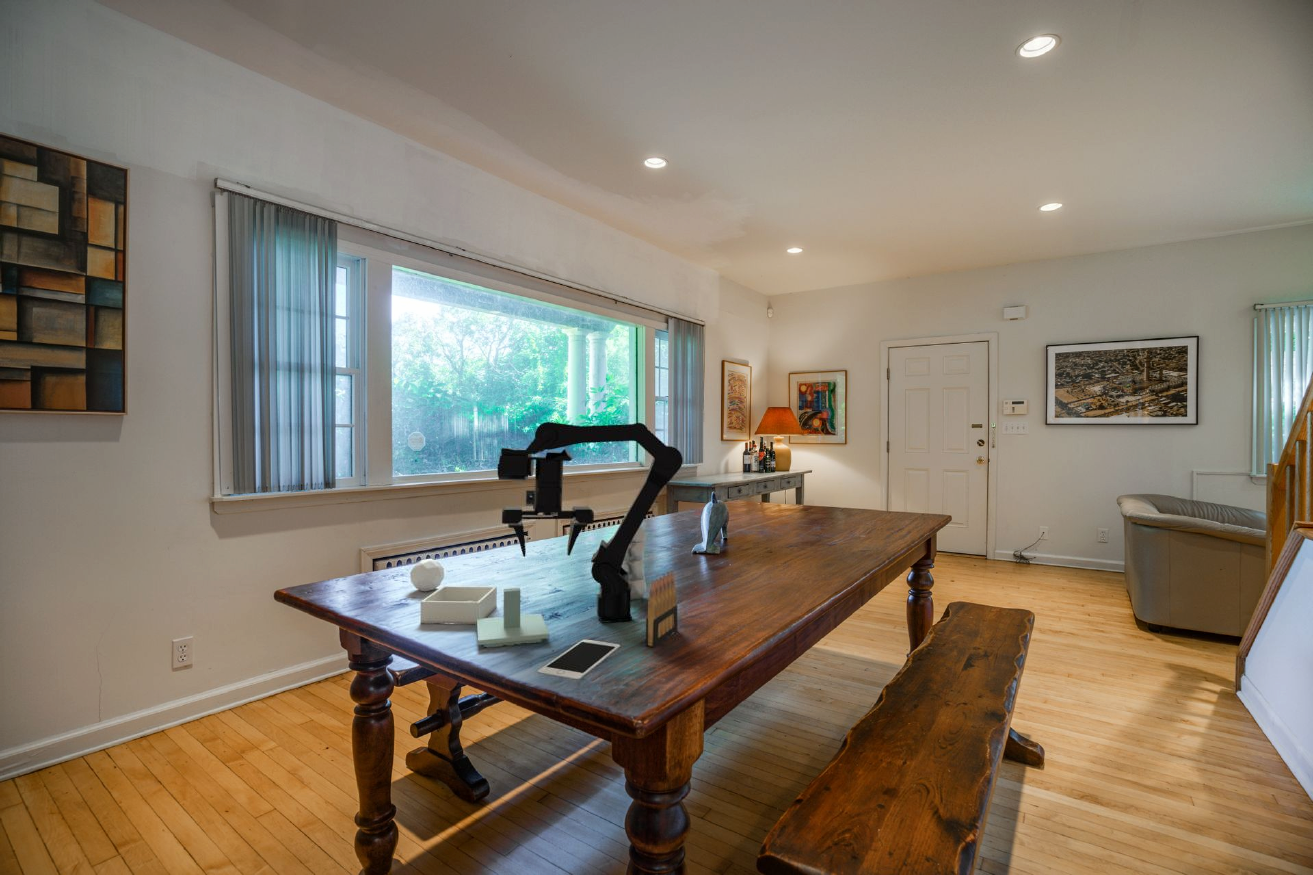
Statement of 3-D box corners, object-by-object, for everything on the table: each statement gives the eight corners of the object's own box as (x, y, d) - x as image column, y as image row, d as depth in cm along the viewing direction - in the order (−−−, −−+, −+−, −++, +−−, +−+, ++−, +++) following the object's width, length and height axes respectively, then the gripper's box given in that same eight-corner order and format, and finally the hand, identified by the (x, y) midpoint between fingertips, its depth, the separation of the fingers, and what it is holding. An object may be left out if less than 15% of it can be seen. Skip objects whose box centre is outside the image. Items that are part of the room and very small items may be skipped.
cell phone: (536, 675, 96) (536, 671, 96) (583, 642, 111) (583, 638, 111) (578, 682, 93) (578, 678, 93) (621, 647, 108) (621, 644, 108)
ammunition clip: (654, 648, 107) (654, 582, 107) (645, 646, 108) (645, 581, 108) (677, 630, 117) (678, 570, 116) (669, 629, 117) (669, 569, 117)
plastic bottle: (642, 603, 134) (643, 516, 134) (614, 601, 136) (614, 515, 136) (648, 595, 141) (649, 512, 141) (621, 594, 142) (622, 511, 142)
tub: (496, 607, 131) (496, 586, 131) (479, 624, 119) (479, 602, 119) (443, 606, 131) (443, 586, 131) (420, 623, 119) (420, 601, 119)
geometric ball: (435, 599, 146) (456, 572, 147) (417, 596, 139) (439, 568, 140) (416, 581, 149) (436, 555, 150) (397, 577, 141) (418, 549, 143)
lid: (541, 622, 121) (541, 579, 121) (549, 643, 109) (549, 596, 109) (477, 628, 117) (477, 583, 117) (478, 650, 105) (478, 601, 105)
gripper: (587, 478, 134) (584, 547, 134) (502, 477, 129) (500, 548, 129) (595, 483, 123) (592, 557, 123) (503, 482, 118) (500, 560, 118)
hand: (546, 555), depth 124 cm, fingers open, 9 cm apart
